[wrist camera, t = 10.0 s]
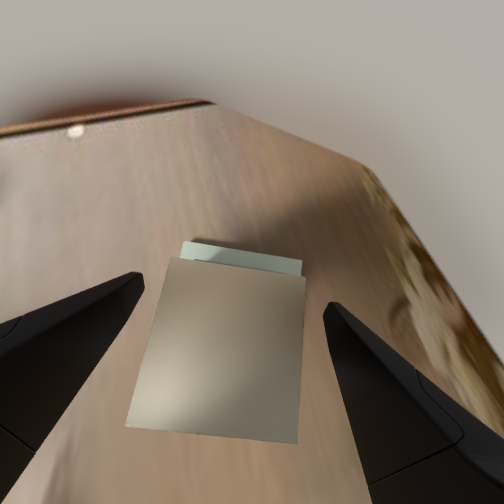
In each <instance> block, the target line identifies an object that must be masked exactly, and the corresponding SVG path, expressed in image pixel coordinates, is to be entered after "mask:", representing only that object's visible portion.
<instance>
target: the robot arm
mask: <svg viewBox="0 0 504 504" xmlns="http://www.w3.org/2000/svg"><path fill="white" fill-rule="evenodd" d="M144 289H145V285H144V279H143V274H142V273H140V272H129V273H127V274H124V275H122V276H119V277H117V278H114V279H112V280H109V281H107V282H104V283H102V284H99V285H97V286H94V287H92V288H89V289H87V290H84V291H82V292H79V293H77V294H74V295H72V296H69V297H67V298H64V299H62V300H59V301H57V302H54V303H52V304H49V305H47V306H44V307H42V308H39V309H37V310H34V311H32V312H29V313H27V314H25V315H24V316H19V317H16V318H14V319H12V320H9V321H7V322H4V323H1V324H0V504H1V503H2V501H3V500H4V499H5V497H6V496H7V494H8V493H9V491H10V490H11V488H12V487H13V486H14V484H15V483H16V481H17V480H18V478H19V477H20V475H21V474H22V473H23V471H24V470H25V468H26V467H27V465H28V464H29V462H30V461H31V460H32V458H33V457H34V455H35V454H36V451H37V450H38V449H39V448H40V446H41V445H42V443H43V442H44V440H45V439H46V438H47V436H48V435H49V433H50V432H51V430H52V429H53V428H54V426H55V425H56V423H57V422H58V420H59V419H60V417H61V416H62V415H63V413H64V412H65V410H66V409H67V407H68V406H69V404H70V403H71V402H72V400H73V399H74V397H75V396H76V394H77V393H78V391H79V390H80V389H81V387H82V386H83V384H84V383H85V381H86V380H87V378H88V377H89V376H90V374H91V373H92V371H93V370H94V368H95V367H96V365H97V364H98V363H99V361H100V360H101V358H102V357H103V355H104V354H105V352H106V351H107V350H108V348H109V347H110V345H111V344H112V342H113V341H114V339H115V338H116V337H117V335H118V334H119V332H120V331H121V329H122V328H123V326H124V325H125V324H126V322H127V320H128V319H129V317H130V315H131V313H132V312H133V310H134V308H135V306H136V304H137V303H138V301H139V299H140V297H141V295H142V293H143V292H144ZM323 320H324V326H325V332H326V337H327V343H328V348H329V352H330V355H331V359H332V362H333V366H334V370H335V373H336V377H337V380H338V384H339V387H340V391H341V394H342V398H343V401H344V405H345V408H346V412H347V415H348V419H349V422H350V426H351V429H352V433H353V436H354V440H355V443H356V447H357V450H358V454H359V457H360V461H361V464H362V468H363V471H364V475H365V479H366V482H367V485H368V490H369V493H370V497H371V500H372V504H504V439H503V438H502V437H500V436H499V435H498V434H496V433H495V432H494V431H493V430H491V429H490V428H489V427H488V426H486V425H485V424H484V423H482V422H481V421H480V420H479V419H477V418H476V417H475V416H473V415H472V414H471V413H470V412H468V411H467V410H466V409H465V408H463V407H462V406H461V405H460V404H458V403H457V402H456V401H455V400H453V399H452V398H451V397H450V396H448V395H447V394H446V393H445V392H443V391H442V390H441V389H440V388H439V387H437V386H436V385H435V384H434V383H433V382H431V381H430V380H429V379H428V378H427V377H425V376H424V375H423V374H422V373H421V372H420V371H418V370H417V369H415V367H414V366H412V365H411V364H410V363H409V362H408V361H407V360H405V359H404V358H403V357H402V356H401V355H400V354H398V353H397V352H396V351H395V350H394V349H393V348H391V347H390V346H389V345H388V344H387V343H385V342H384V341H383V340H382V339H381V338H380V337H378V336H377V335H376V334H375V333H374V332H373V331H371V330H370V329H369V328H368V327H367V326H366V325H364V324H363V323H362V322H361V321H360V320H359V319H357V318H356V317H355V316H354V315H353V314H351V313H350V312H349V311H348V310H347V309H346V308H344V307H343V306H342V305H341V304H340V303H338V302H329V303H328V305H327V307H326V309H325V311H324V313H323Z"/></svg>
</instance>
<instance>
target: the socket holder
mask: <svg viewBox="0 0 504 504" xmlns="http://www.w3.org/2000/svg"><path fill="white" fill-rule="evenodd" d="M180 258H183V259H190V260H197V261H203V262H210V263H216V264H223V265H230V266H236V267H243V268H249V269H256V270H263V271H269V272H276V273H282V274H289V275H296V276H301V268H302V260H297V259H291V258H285V257H279V256H273V255H267V254H261V253H255V252H249V251H242V250H236V249H230V248H224V247H218V246H212V245H206V244H200V243H194V242H188V241H184V243H183V247H182V250H181V254H180Z"/></svg>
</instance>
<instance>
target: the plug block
mask: <svg viewBox="0 0 504 504" xmlns="http://www.w3.org/2000/svg"><path fill="white" fill-rule="evenodd" d="M305 285H306V277H302V276H296V275H289V274H282V273H276V272H269V271H263V270H256V269H249V268H243V267H236V266H230V265H223V264H216V263H210V262H203V261H197V260H190V259H183V258H177V257H171V258H170V262H169V266H168V269H167V273H166V277H165V280H164V284H163V288H162V291H161V295H160V299H159V302H158V306H157V310H156V313H155V317H154V321H153V325H152V328H151V332H150V336H149V339H148V343H147V347H146V350H145V354H144V358H143V361H142V365H141V369H140V372H139V376H138V380H137V383H136V387H135V391H134V394H133V398H132V402H131V405H130V409H129V413H128V416H127V420H126V424H125V427H134V428H144V429H153V430H163V431H173V432H183V433H192V434H202V435H212V436H221V437H231V438H241V439H250V440H260V441H270V442H279V443H289V444H297V442H298V423H299V403H300V383H301V364H302V344H303V324H304V305H305Z"/></svg>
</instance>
